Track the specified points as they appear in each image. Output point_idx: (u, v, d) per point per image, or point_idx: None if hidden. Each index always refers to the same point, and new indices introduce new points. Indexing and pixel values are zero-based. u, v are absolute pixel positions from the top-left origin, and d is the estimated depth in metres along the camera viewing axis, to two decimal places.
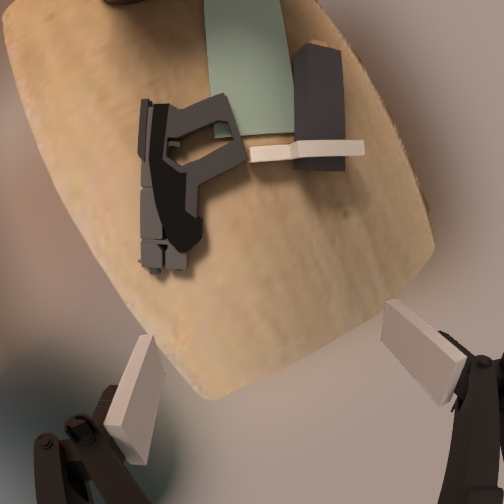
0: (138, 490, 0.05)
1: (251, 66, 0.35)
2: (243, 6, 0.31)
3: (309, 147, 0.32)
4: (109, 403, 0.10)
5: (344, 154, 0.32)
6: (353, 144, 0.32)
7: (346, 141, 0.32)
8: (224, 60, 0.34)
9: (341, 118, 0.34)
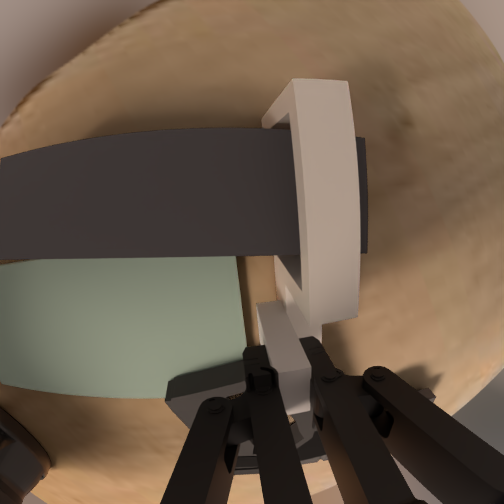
0: (295, 448, 0.07)
1: (94, 334, 0.17)
2: None
3: (332, 289, 0.10)
4: (256, 361, 0.12)
5: (353, 161, 0.09)
6: (315, 120, 0.08)
7: (307, 147, 0.09)
8: (96, 375, 0.18)
9: (197, 139, 0.11)
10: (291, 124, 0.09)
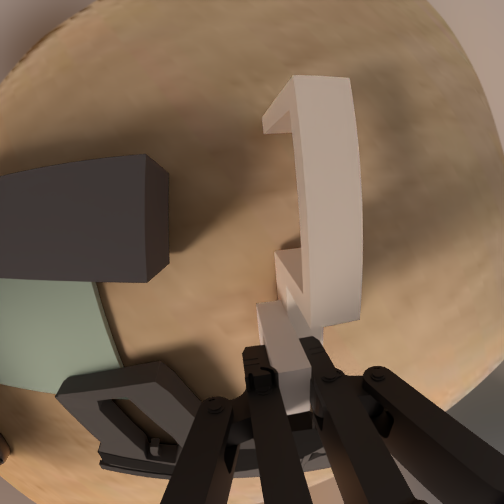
0: (294, 448, 0.07)
1: (9, 334, 0.16)
2: None
3: (333, 291, 0.10)
4: (256, 361, 0.12)
5: (355, 159, 0.09)
6: (316, 118, 0.08)
7: (308, 146, 0.08)
8: (17, 369, 0.17)
9: (14, 183, 0.10)
10: (292, 122, 0.09)
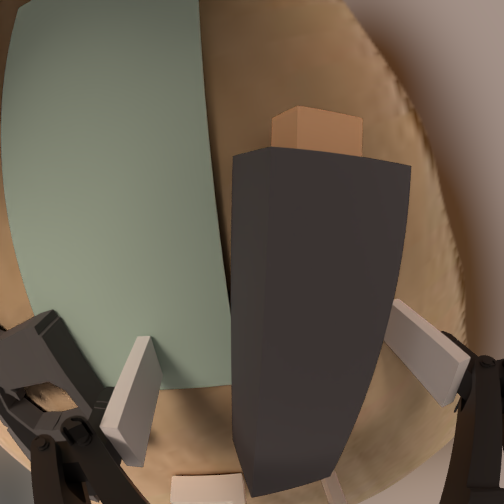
0: (135, 492, 0.05)
1: (95, 214, 0.12)
2: (90, 7, 0.09)
3: None
4: (106, 405, 0.09)
5: None
6: None
7: None
8: (34, 202, 0.11)
9: (352, 409, 0.11)
10: None
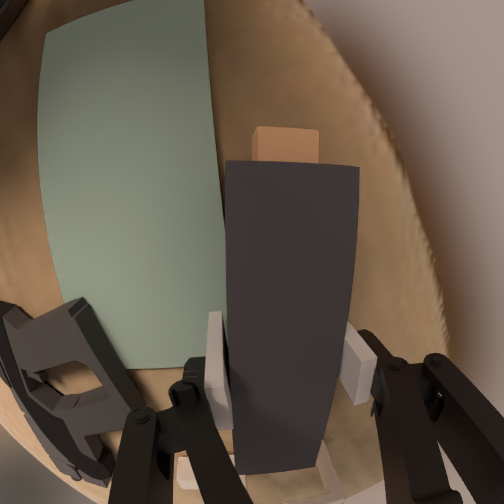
0: (229, 460, 0.07)
1: (124, 217, 0.16)
2: (114, 41, 0.13)
3: None
4: (195, 373, 0.12)
5: None
6: None
7: None
8: (70, 206, 0.15)
9: (324, 393, 0.13)
10: (325, 495, 0.16)
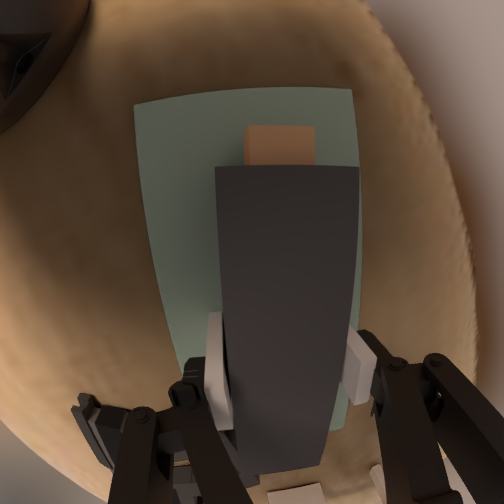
0: (229, 460, 0.07)
1: None
2: None
3: None
4: (195, 373, 0.12)
5: None
6: None
7: None
8: None
9: (327, 397, 0.13)
10: None
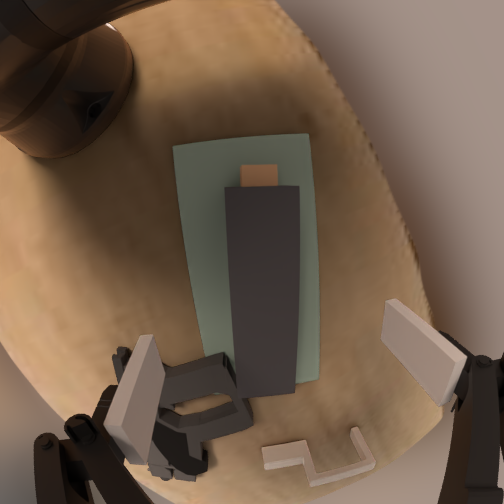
0: (138, 490, 0.05)
1: None
2: None
3: (321, 481, 0.26)
4: (109, 403, 0.10)
5: (353, 475, 0.26)
6: (364, 467, 0.26)
7: (358, 468, 0.26)
8: (218, 296, 0.26)
9: (292, 326, 0.22)
10: (363, 461, 0.27)
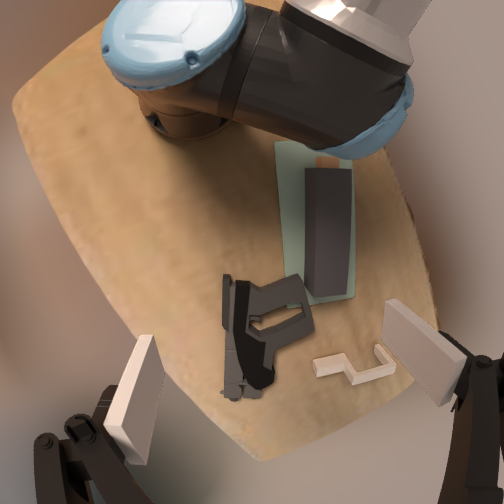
0: (138, 490, 0.05)
1: None
2: None
3: (360, 379, 0.43)
4: (109, 403, 0.10)
5: (381, 376, 0.44)
6: (389, 369, 0.43)
7: (385, 369, 0.43)
8: (298, 234, 0.43)
9: (346, 246, 0.38)
10: (387, 364, 0.44)
